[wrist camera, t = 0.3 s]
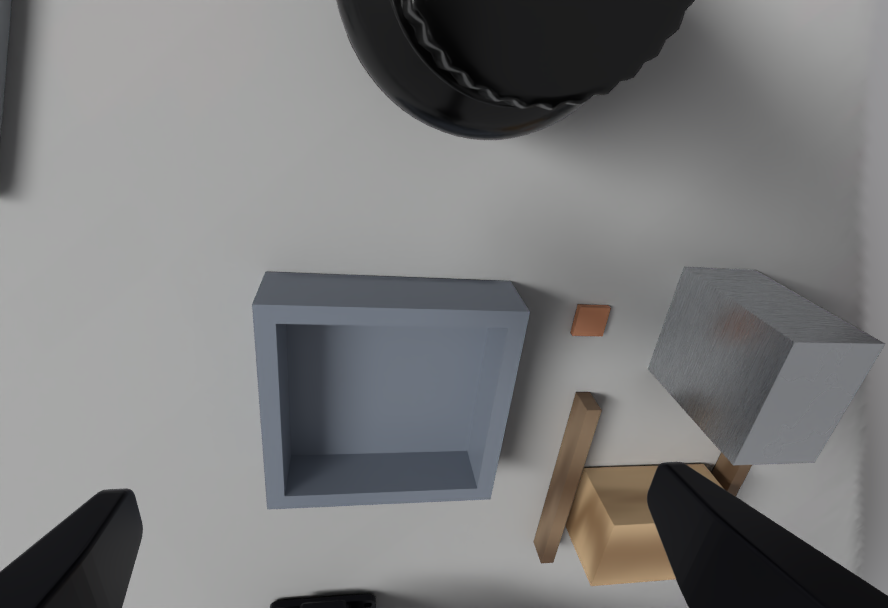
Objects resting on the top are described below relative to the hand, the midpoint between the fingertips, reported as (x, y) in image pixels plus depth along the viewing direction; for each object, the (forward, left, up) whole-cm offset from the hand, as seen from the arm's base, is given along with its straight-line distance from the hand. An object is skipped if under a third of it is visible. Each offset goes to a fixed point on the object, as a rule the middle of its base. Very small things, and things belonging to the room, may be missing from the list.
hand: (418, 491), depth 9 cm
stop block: (-4, -17, -14) cm, 22 cm away
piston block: (-17, -17, -14) cm, 27 cm away
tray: (-8, -1, -14) cm, 16 cm away
